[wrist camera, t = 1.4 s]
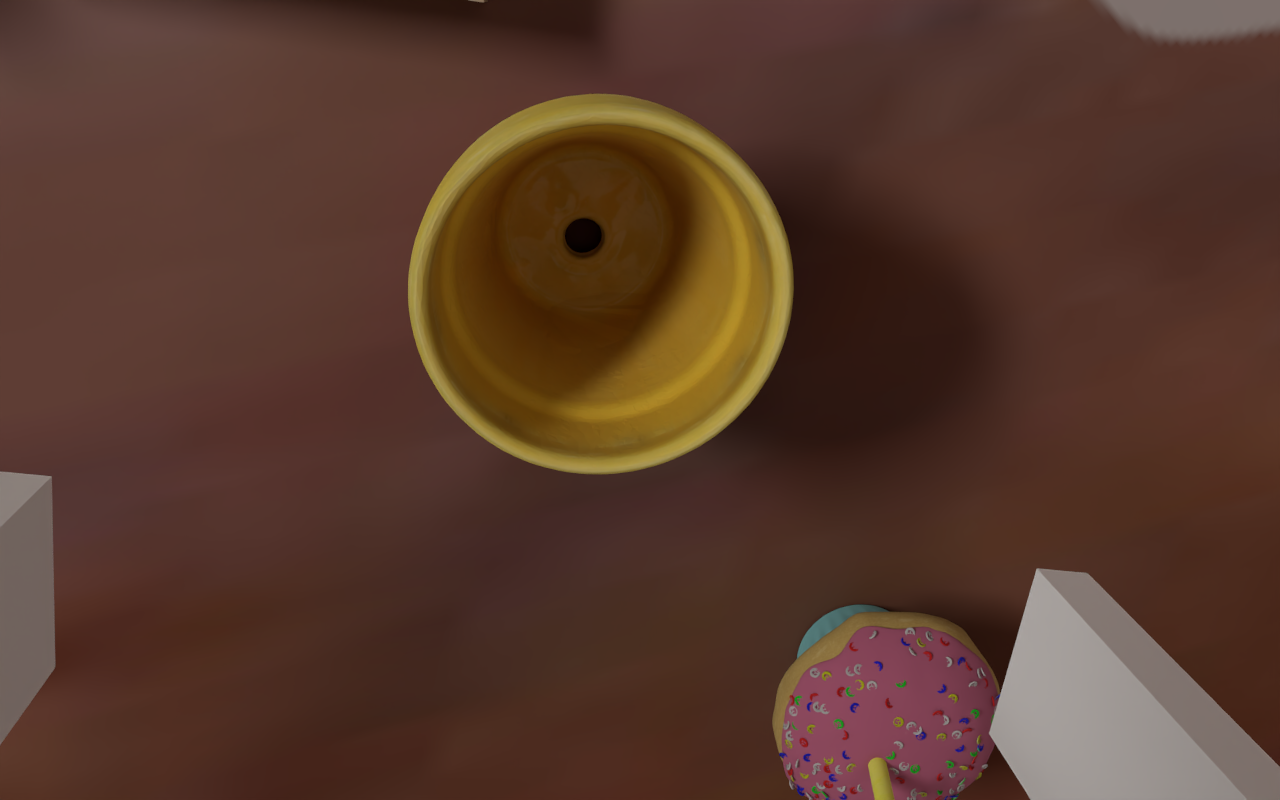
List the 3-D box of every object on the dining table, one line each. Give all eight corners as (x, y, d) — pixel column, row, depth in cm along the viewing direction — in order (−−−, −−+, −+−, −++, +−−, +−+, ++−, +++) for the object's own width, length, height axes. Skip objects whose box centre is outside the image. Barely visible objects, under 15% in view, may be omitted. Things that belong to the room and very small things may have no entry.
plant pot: (642, 417, 42) (676, 536, 32) (383, 291, 39) (341, 381, 30) (786, 168, 39) (868, 221, 30) (519, 15, 36) (519, 22, 27)
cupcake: (777, 762, 47) (857, 999, 36) (729, 594, 44) (798, 796, 33) (972, 703, 47) (1112, 923, 36) (936, 531, 44) (1077, 713, 33)
